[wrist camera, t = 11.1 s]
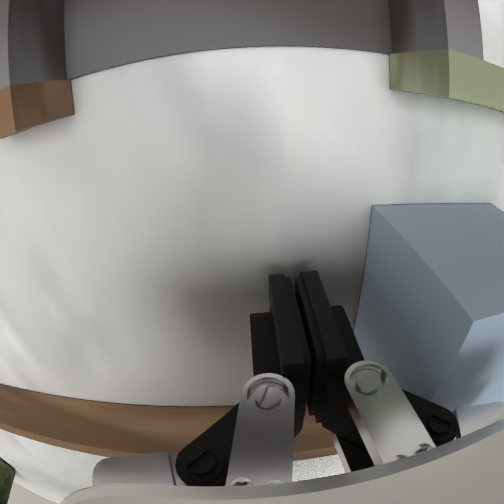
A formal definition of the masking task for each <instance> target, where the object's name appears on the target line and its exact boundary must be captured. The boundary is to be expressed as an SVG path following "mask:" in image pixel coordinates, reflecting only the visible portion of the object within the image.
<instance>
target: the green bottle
mask: <svg viewBox="0 0 504 504" xmlns="http://www.w3.org/2000/svg"><path fill="white" fill-rule="evenodd" d="M14 476H15V471H14V470H13V469H12V468H11V467H10V466H9V465H8V464H7V463H6V462H4V461H3V460H2V459H0V504H7V502H8V498H9V494H10V490H11V487H12V483H13V480H14Z"/></svg>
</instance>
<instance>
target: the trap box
mask: <svg viewBox="0 0 504 504" xmlns="http://www.w3.org/2000/svg"><path fill="white" fill-rule="evenodd" d="M258 46H309V47H329V48H342V49H353V50H362V51H370V52H378V53H384V54H389V59H390V89H391V90H399V91H407V92H413V93H420V94H426V95H432V96H437V97H443V98H448V99H453V100H457V101H462V102H466V103H471V104H475V105H479V106H483V107H487V108H491V109H494V110H498V111H501V112H504V68H502V67H499V66H497V65H494V64H491V63H489V62H486V61H483V45H482V32H481V22H480V14H479V6H478V0H0V139H3V138H5V137H8V136H10V135H13V134H16V133H18V132H21V131H24V130H26V129H29V128H32V127H35V126H38V125H41V124H44V123H47V122H50V121H53V120H56V119H59V118H63V117H66V116H70V115H73V114H74V107H73V99H72V91H71V81H70V80H71V79H74V78H77V77H80V76H83V75H87V74H90V73H94V72H97V71H101V70H104V69H108V68H112V67H116V66H120V65H124V64H128V63H133V62H137V61H142V60H147V59H152V58H157V57H163V56H169V55H175V54H182V53H189V52H196V51H205V50H214V49H225V48H238V47H258ZM233 407H234V406H222V407H164V406H142V405H127V404H115V403H105V402H96V401H88V400H80V399H73V398H66V397H60V396H54V395H48V394H43V393H38V392H33V391H28V390H23V389H19V388H14V387H10V386H6V385H2V384H0V429H3V430H5V431H8V432H11V433H14V434H17V435H20V436H23V437H26V438H29V439H33V440H36V441H39V442H43V443H47V444H50V445H54V446H58V447H62V448H66V449H70V450H75V451H79V452H84V453H89V454H94V455H100V456H106V457H122V456H132V455H141V454H150V453H157V452H164V451H168V452H169V453H174V452H180V451H181V450H182V449H183V448H184V447H185V446H187V445H188V444H189V443H191V442H192V441H193V440H194V439H196V438H197V437H198V436H199V435H201V434H202V433H203V432H204V431H206V430H207V429H208V428H209V427H211V426H212V425H213V424H214V423H215V422H217V421H218V420H219V419H220V418H221V417H223V416H224V415H225V414H226V413H227V412H229V411H230V410H231V409H232V408H233ZM335 454H338V453H337V450H336V448H335V445H334V443H333V440H332V438H331V434H330V431H329V430H327V429H326V428H324V427H322V424H321V423H316V420H315V415H312V416H309V413H308V408H307V404H306V412H305V417H304V420H303V427H302V430H301V431H300V432H299V433H298V435H297V436H296V437H295V438H294V442H293V461H295V460H303V459H311V458H317V457H324V456H329V455H335Z"/></svg>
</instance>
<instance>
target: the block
mask: <svg viewBox="0 0 504 504" xmlns="http://www.w3.org/2000/svg"><path fill="white" fill-rule="evenodd" d="M354 335H355V337H356V340H357V342H358V345H359V347H360V350H361V352H362V355H363V357H364V360H369V361H375V362H379V363H381V364H383V365H384V366H386V367H387V368H388V369H389V371H390V372H391V373H392V375H393V376H394V378H395V380H396V381H397V383H398V384H399V386H400V388H401V389H404V390H406V391H408V392H410V393H412V394H415V395H417V396H419V397H421V398H424V399H426V400H428V401H431V402H433V403H435V404H437V405H440V406H442V407H445V408H446V409H448V410H450V411H454V409H455V408H459V407H466V406H474V405H480V404H487V403H493V402H504V212H503V211H501V210H500V209H498V208H497V207H495V206H494V205H492V204H491V203H450V204H401V205H372V214H371V223H370V232H369V240H368V248H367V256H366V263H365V270H364V276H363V283H362V289H361V295H360V300H359V306H358V311H357V317H356V322H355V327H354Z"/></svg>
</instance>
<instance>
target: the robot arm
mask: <svg viewBox="0 0 504 504" xmlns="http://www.w3.org/2000/svg"><path fill="white" fill-rule="evenodd" d="M268 278H269V303H270V312H267V313H255V314H250V325H251V341H252V357H253V373H254V377H252V378H251V379H249V380H248V381H247V382H246V383H245V384H244V386H243V388H242V391H241V395H240V401H239V403H238V404H237V405H236V406H234V407H233V408H232V409H231V410H230V411H229V412H227V413H226V414H225V415H224V416H223V417H221V418H220V419H219V420H218V421H217V422H215V423H214V424H213V425H212V426H211V427H209V428H208V429H207V430H206V431H204V432H203V433H202V434H201V435H199V436H198V437H197V438H196V439H194V440H193V441H192V442H191V443H189V444H188V445H187V446H185V447H184V448H183V449H182V450H181V451H180V452H174V453H169V452H168V451H164V452H157V453H150V454H141V455H132V456H122V457H110V458H106V459H103V460H101V461H100V462H99V463H97V465H96V467H95V468H94V471H93V487H89V488H84V489H81V490H78V491H76V492H73V493H71V494H69V495H68V496H67V497H65V498H64V500H63V501H62V502H61V503H60V504H504V402H493V403H487V404H480V405H474V406H466V407H459V408H455V409H454V411H450V410H448V409H446V408H445V407H442V406H440V405H437V404H435V403H433V402H431V401H428V400H426V399H424V398H421V397H419V396H417V395H415V394H412V393H410V392H408V391H406V390H404V389H401V388H400V386H399V384H398V383H397V381H396V380H395V378H394V376H393V375H392V373H391V372H390V371H389V369H388V368H387V367H386V366H384V365H383V364H381V363H379V362H375V361H369V360H364V357H363V355H362V352H361V350H360V347H359V345H358V342H357V340H356V337H355V335H354V332H353V330H352V327H351V325H350V322H349V320H348V317H347V315H346V313H345V310H344V308H343V306H342V305H336V306H330V304H329V301H328V299H327V296H326V294H325V291H324V288H323V286H322V283H321V280H320V278H319V275H318V273H317V271H307V272H301V273H300V276H297V277H295V291H294V287H293V284H292V280H291V277H286V278H285V274H272V275H269V276H268ZM306 404H307V408H308V413H309V416H312V415H315V420H316V423H321V424H322V427H324V428H326V429H327V430H329V431H330V434H331V438H332V440H333V443H334V445H335V448H336V450H337V453H338V455H339V457H340V460H341V462H342V465H343V467H344V470H345V472H346V473H344V474H339V475H334V476H328V477H323V478H316V479H310V480H303V481H295V482H292V464H293V442H294V438H295V437H296V436H297V435H298V433H299V432H300V431H301V430H302V427H303V420H304V417H305V412H306Z"/></svg>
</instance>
